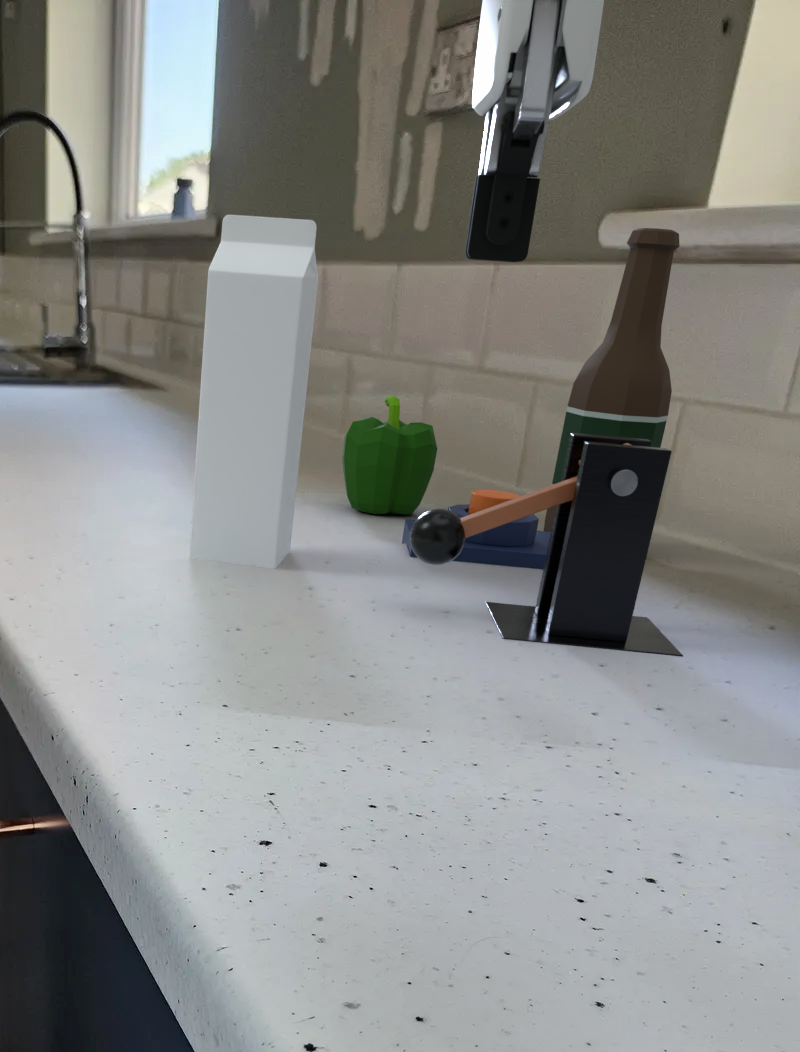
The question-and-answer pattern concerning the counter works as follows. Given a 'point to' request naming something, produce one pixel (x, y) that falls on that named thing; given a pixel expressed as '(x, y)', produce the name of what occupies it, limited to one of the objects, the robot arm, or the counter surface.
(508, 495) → the button
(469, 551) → the control block
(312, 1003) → the counter surface
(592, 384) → the beer bottle
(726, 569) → the counter surface
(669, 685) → the counter surface
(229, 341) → the milk
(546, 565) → the bracket
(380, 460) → the bell pepper
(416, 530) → the lever
